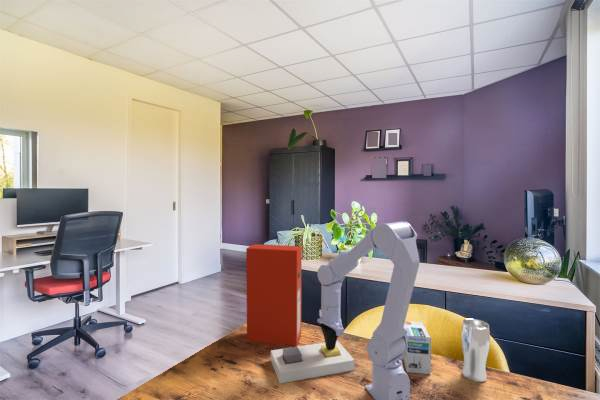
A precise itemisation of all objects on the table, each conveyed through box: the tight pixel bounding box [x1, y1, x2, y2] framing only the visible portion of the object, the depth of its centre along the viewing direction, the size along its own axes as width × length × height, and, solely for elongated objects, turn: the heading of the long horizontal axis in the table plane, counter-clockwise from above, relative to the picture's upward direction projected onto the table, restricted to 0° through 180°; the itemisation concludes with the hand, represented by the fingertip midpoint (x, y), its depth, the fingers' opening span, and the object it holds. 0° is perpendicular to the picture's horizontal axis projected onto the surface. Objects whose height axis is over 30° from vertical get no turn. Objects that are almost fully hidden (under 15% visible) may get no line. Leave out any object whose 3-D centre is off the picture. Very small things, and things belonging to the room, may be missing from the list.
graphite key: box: [282, 346, 301, 364], centre depth 93 cm, size 4×4×3 cm
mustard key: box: [321, 345, 340, 358], centre depth 96 cm, size 4×4×3 cm
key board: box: [270, 340, 356, 384], centre depth 95 cm, size 12×22×3 cm, turn 107°
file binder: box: [245, 243, 303, 347], centre depth 110 cm, size 8×17×32 cm, turn 78°
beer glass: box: [460, 318, 491, 383], centre depth 89 cm, size 7×7×15 cm
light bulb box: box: [402, 320, 432, 375], centre depth 96 cm, size 11×7×11 cm, turn 171°
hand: (330, 348), depth 96 cm, fingers closed, pressing on mustard key
